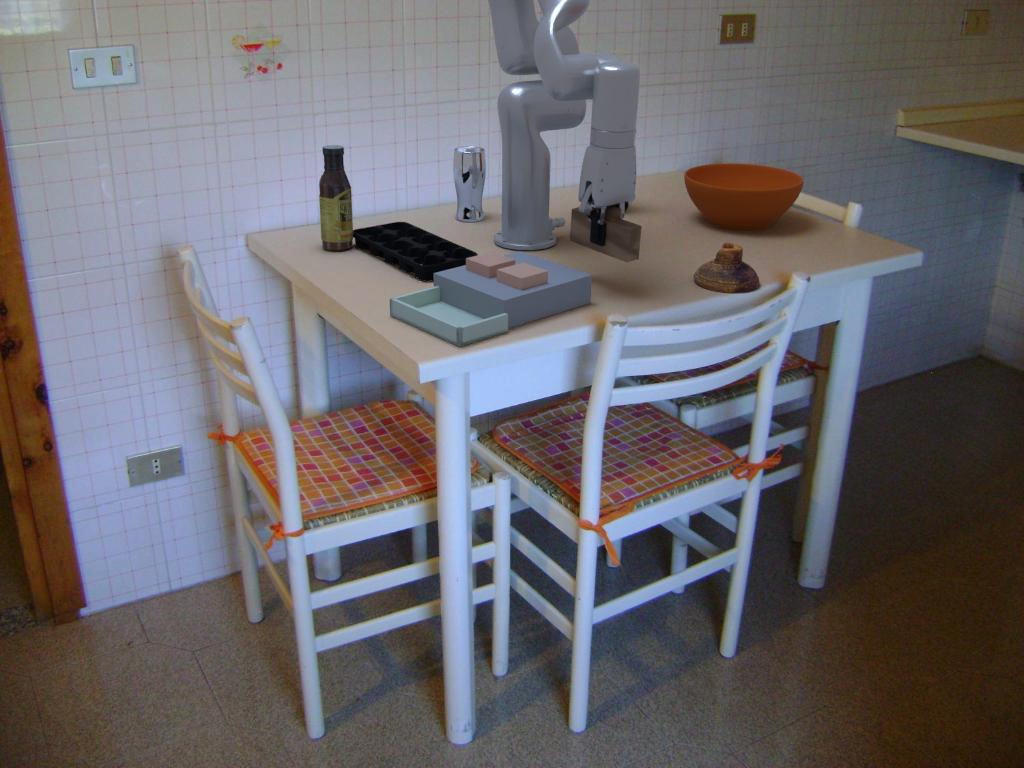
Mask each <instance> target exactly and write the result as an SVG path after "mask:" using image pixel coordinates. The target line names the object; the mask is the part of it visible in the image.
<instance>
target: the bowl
mask: <svg viewBox="0 0 1024 768" xmlns="http://www.w3.org/2000/svg"><path fill="white" fill-rule="evenodd" d="M683 180H684V184H685V185H684V186H685V189H686V192H687V194H688V196H689V198H690V200H691V201H692V203H693V205H694V206H695V207H696V208H697V210H698V212H699V213H701V215H702V216H703V217H704V218H705V219H706V221H707V222H708V223H709V224H711V225H713V226H716V227H719V228H724V229H729V230H736V231H737V230H738V231H752V230H753V231H754V230H755V231H756V230H763V229H766V228H769V227H770V226H772V225H773V223H775V222H776V221H777V220H778V219H779V218H781V217H782V216H783V215H784V214H785V213H786V212H788V211H789V209H791V207H792V206H793V205H794V204H795V202H796V201H797V200H798V198H799V196H800V194H801V192H802V189H803V188H804V182H805V181H804V179H803V177H802V176H801V175H800V174H798V173H796V172H794V171H790V170H787V169H784V168H780V167H779V168H778V167H774V166H769V165H768V166H767V165H760V164H752V163H731V162H730V163H726V162H725V163H710V164H708V163H707V164H702V165H697V166H694V167H690V168H688V169H687V170H686V171H685V172H684V177H683Z"/></svg>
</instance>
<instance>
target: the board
mask: <svg viewBox="0 0 1024 768" xmlns="http://www.w3.org/2000/svg"><path fill="white" fill-rule="evenodd" d="M502 255H503V254H502ZM503 256H506V257H509V258H512V259H515V265H516V264H520V263H526V264H529V265H532V266H535V267H538V268H541V269H544V270H546V271H548V283H544V284H541V285H537V286H534V287H530V288H527V289H523V290H519V289H517V288H514V287H511V286H509V285H506V284H503V283H501V282H498V281H497V276H495V277H491V278H487V277H484V276H482V275H479V274H476V273H474V272H471V271H468V270H466V265H464V266H460V267H456V268H452V269H448V270H444V271H440V272H436V273H434V281H433V287H435V286H439V287H440V301H442V302H444V303H447V304H449V305H451V306H454V307H456V308H459V309H461V310H463V311H466V312H468V313H471V314H473V315H476V316H478V317H480V318H483V319H487V318H490V317H493V316H497V315H500V314H503V313H507V314H508V330H510V329H511V328H515V327H518V326H521V325H524V324H527V323H531V322H534V321H537V320H540V319H543V318H546V317H549V316H553V315H557V314H559V313H562V312H567V311H570V310H573V309H576V308H578V307H581V306H585V305H588V304H591V303H592V302H591V301H592V284H593V283H592V281H593V280H592V279H593V275H592V274H590V273H587V272H585V271H580V270H578V269H575V268H573V267H569V266H566V265H564V264H563V265H562V264H560V263H557V262H554V261H551V260H548V259H545V258H542V257H539V256H536V255H533V254H529V253H527V252H524V251H523V250H518V251H516V252H511V253H509V254H504V255H503Z"/></svg>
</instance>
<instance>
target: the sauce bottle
mask: <svg viewBox="0 0 1024 768" xmlns="http://www.w3.org/2000/svg"><path fill="white" fill-rule="evenodd" d="M322 155H323V165H324V166H323V169H324V171H323V173H322V174H321V176H320V178H319V181H318V182H319V184H318V189H319V190H318V191H319V195H318V196H319V197H318V200H319V218H320V221H319V222H320V238H321V240H322V242H321V244H322V247H323V249H324V250H327V251H333V252H334V251H335V252H339V251H346V250H348V249H349V250H350V249H351V248H352V247H353V243H354V242H353V240H354V237H353V230H354V225H353V224H354V223H353V220H354V219H353V199H352V198H353V197H352V196H353V195H352V186H351V184H350V181H349V178H348V175H347V173H346V171H345V165H344V155H345V149H344V146H343V145H339V144H330V145H324V146H322Z"/></svg>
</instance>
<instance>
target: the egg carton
mask: <svg viewBox="0 0 1024 768" xmlns="http://www.w3.org/2000/svg"><path fill="white" fill-rule="evenodd" d="M353 239H354V244H355V245H356V247H357V248H358V249H359V248H360V250H362V251H368V252H369V254H370V255H372V256H373V257H377V258H380V259H381V258H383V261H384V262H386V263H387V264H390V265H393V266H398V268H399V270H401V271H403V272H405V273H408V274H413V275H414V278H416V277H417V278H416V279H418V280H420V279H421V280H420V281H423V280H426V281H425V282H431V281H430V280H434V273H436V272H440V271H444V270H448V269H452V268H456V267H460V266H464V265H466V258H470V257H474V256H478V255H479V254H478V253H477V252H476V251H474V250H471V249H470V248H467V247H464V246H462V245H460V244H457V243H455V242H453V241H450V240H448V239H446V238H443V237H441V236H439V235H436V234H434V233H432V232H430V231H428V230H425V229H423V228H421V227H419V226H416V225H413V224H411V223H409V222H407V221H394V222H390V223H389V222H387V223H383V224H377V225H373V226H366V227H361V228H355V229H353ZM427 280H428V281H427Z"/></svg>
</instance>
